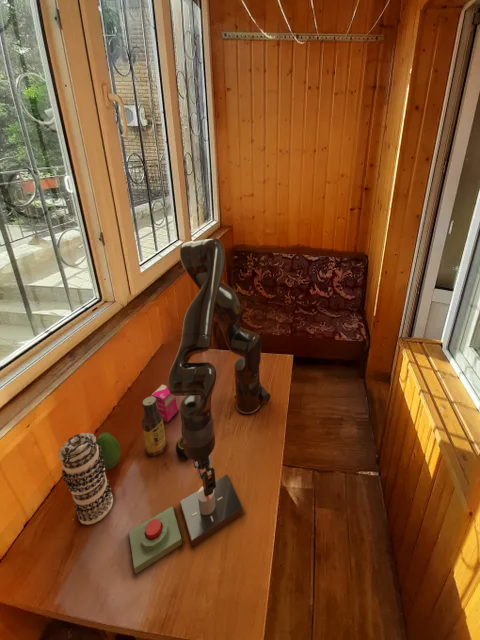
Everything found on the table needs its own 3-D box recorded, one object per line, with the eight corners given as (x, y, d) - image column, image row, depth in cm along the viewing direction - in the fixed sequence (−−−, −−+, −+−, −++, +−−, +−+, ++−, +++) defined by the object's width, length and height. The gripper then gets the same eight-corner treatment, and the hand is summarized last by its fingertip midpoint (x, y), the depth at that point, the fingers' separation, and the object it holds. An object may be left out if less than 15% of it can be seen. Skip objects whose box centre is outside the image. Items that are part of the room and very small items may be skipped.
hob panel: (227, 479, 94) (227, 473, 94) (242, 513, 86) (242, 507, 85) (180, 506, 87) (179, 500, 86) (192, 547, 79) (191, 540, 78)
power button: (160, 520, 81) (159, 515, 80) (163, 533, 78) (162, 529, 78) (145, 528, 79) (144, 524, 79) (147, 543, 76) (146, 538, 76)
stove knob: (197, 503, 86) (195, 489, 84) (212, 494, 88) (210, 480, 86) (202, 518, 82) (200, 504, 80) (218, 509, 85) (216, 494, 83)
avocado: (119, 448, 104) (113, 421, 100) (125, 466, 98) (119, 438, 94) (92, 463, 99) (84, 435, 95) (96, 482, 93) (88, 454, 89)
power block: (173, 511, 86) (171, 501, 85) (182, 544, 79) (180, 534, 78) (130, 536, 81) (127, 526, 79) (135, 574, 74) (132, 564, 72)
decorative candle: (119, 507, 87) (102, 441, 78) (81, 534, 81) (59, 467, 72) (108, 483, 93) (92, 420, 84) (72, 507, 87) (50, 442, 78)
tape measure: (186, 464, 99) (185, 456, 97) (172, 453, 102) (171, 445, 101) (202, 448, 104) (201, 439, 103) (188, 437, 108) (187, 429, 106)
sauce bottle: (159, 458, 100) (151, 411, 94) (142, 455, 102) (132, 408, 95) (170, 441, 106) (163, 395, 100) (154, 437, 108) (146, 392, 101)
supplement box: (155, 418, 115) (150, 394, 111) (166, 406, 120) (162, 383, 116) (167, 423, 113) (163, 399, 109) (178, 411, 118) (175, 387, 114)
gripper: (223, 448, 72) (227, 495, 78) (204, 406, 84) (208, 450, 89) (191, 464, 68) (197, 513, 74) (175, 419, 80) (181, 464, 85)
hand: (203, 479), depth 81 cm, fingers open, 8 cm apart
